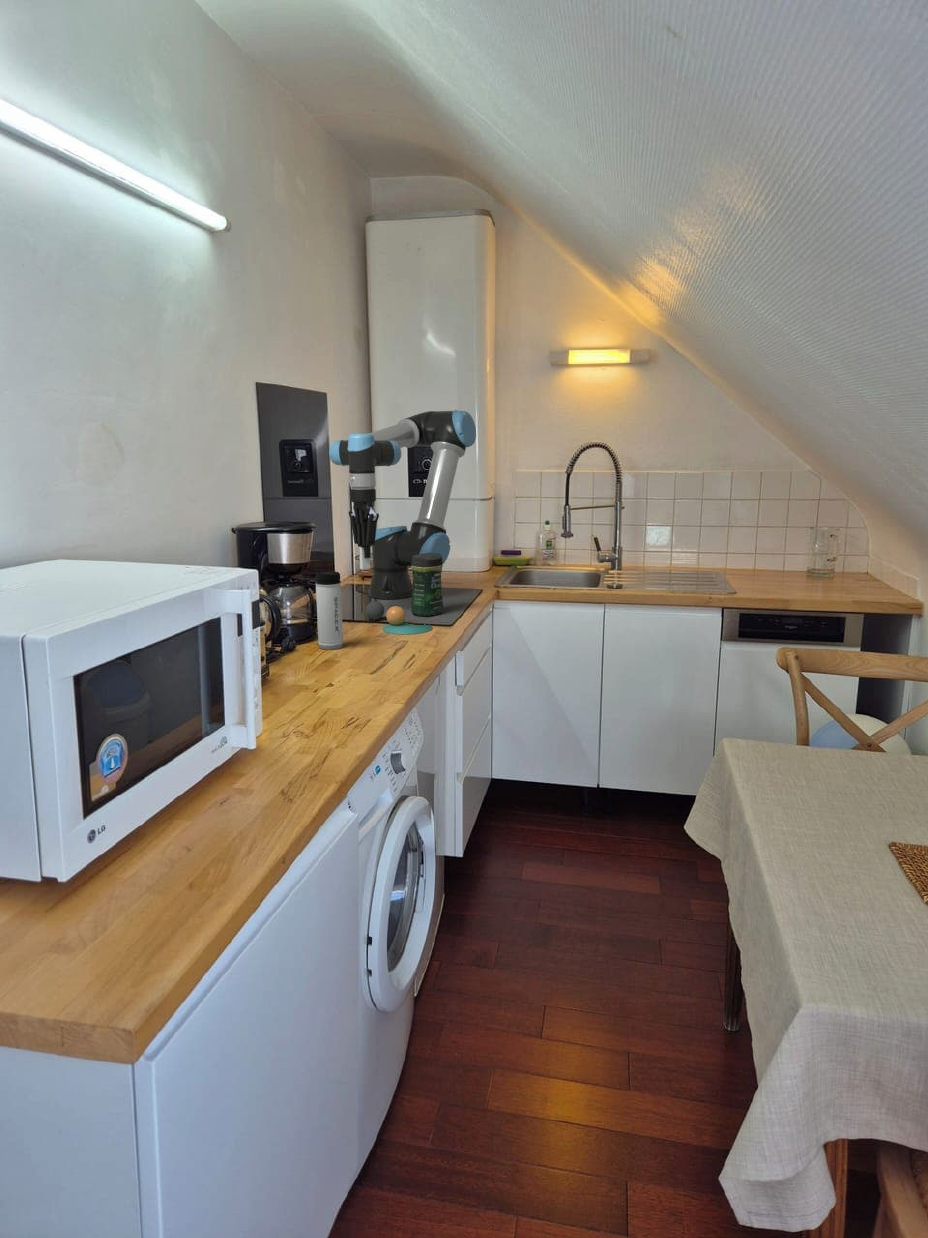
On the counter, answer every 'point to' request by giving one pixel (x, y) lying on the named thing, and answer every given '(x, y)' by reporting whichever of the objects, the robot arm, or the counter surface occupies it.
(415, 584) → the coffee jar
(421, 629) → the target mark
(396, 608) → the orange ball
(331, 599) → the travel mug
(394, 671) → the counter surface
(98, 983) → the counter surface
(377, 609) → the dark gray ball
